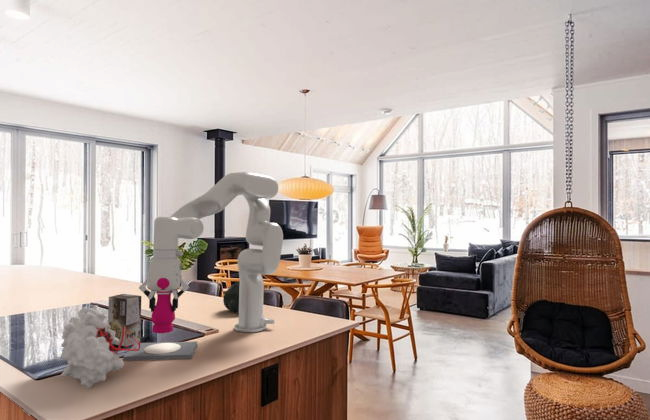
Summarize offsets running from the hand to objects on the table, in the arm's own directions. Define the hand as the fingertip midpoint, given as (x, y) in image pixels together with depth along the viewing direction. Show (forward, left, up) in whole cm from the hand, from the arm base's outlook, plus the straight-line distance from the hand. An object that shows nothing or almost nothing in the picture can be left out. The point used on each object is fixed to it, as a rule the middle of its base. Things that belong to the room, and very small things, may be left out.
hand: (163, 310), depth 137 cm
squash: (-23, -58, -14) cm, 64 cm away
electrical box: (+15, -12, -14) cm, 24 cm away
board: (0, 0, -14) cm, 14 cm away
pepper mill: (0, 0, -7) cm, 7 cm away
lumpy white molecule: (+14, +18, -14) cm, 27 cm away
